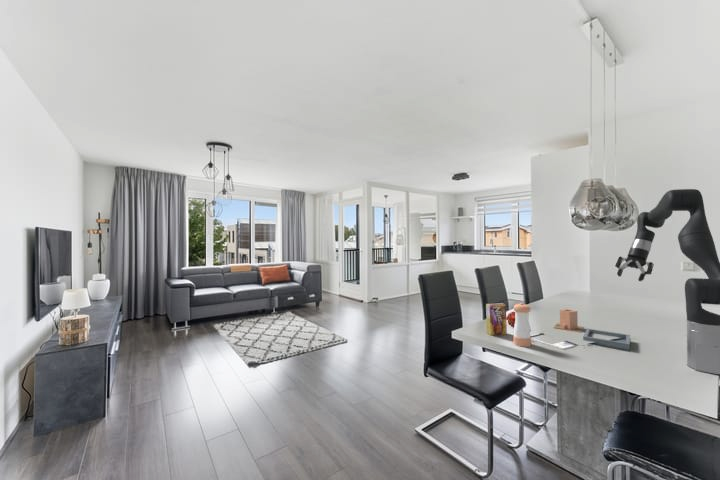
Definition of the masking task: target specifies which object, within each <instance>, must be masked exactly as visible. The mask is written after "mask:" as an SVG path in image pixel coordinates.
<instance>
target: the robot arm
mask: <svg viewBox="0 0 720 480" xmlns="http://www.w3.org/2000/svg"><path fill="white" fill-rule="evenodd" d="M684 211H685V212H688V213H689V215H690V216H689V219H688V221H687V222H686V224H684V226H683V227H682V228H681V230H680V231H679V233H678V235H677V240H678V243H679V244H678V245H679V247H680V251H681V253H682V254H683V255H684V256H685V257H686V258H687V259H689V260H690V261H691V262H692V263H694V264H695V265H697V266H698V267H699V268H701V269H702V271H703V272H704V273H705V275H706V276H707V277H708V278H696V277H695V278H694V277H692V278H688V279H687V280H686V281H685V283H684V297H685V298H684V299H685V311H686V312H685V313H686V363H687V364H686V365H687V367H688V368H689V367H690V368H691V369H693V370H694V371H698V372H704V373H709V374H714V375H720V314H718V313H715V312H712V311H709V310H707V309H706V308H705V309H704V308H703V306H702V304H703V305H716V306H717V305H718V306H720V260H719V259H720V258H719V257H718V256H719V255H718V253H717V248H716V245H715V241H714V238H713V235H712V233H711V229H710V227H709V223H708V219H707V216H706V212H705V204H704V199H703V195H702V193H701V191H700V190H699V189H696V188H683V189H682V188H681V189H669V190H668V191H666V192H665V193H664V194H663V196H662V197H661V199H660V200H659V201H658V203H657V204H656V206H655V207H654V208H653V209H651V210H650V211H642V212H640V213H639V214H638V215H637V218H636V220H637V221H636V222H637V225H636V226H637V229H636V234H635V237H634V240H633V241H632V244H631V246H630V248H629V251H628V254H627V257H623V256H619V257H618V259H617V261H616V263H615V266H614V267H616V268H617V269H618V270H617V273H616V274H617V276H618V277H621V276H622V274H623V271H624V270H625V269H627V268H633V269H636V270H638V269H639V271H640V274H639V277H638V281H639V282H642V281H644V280H645V276H646V275H652V272H653V268H654V264H655V263H653V262H652V261H649V262H648V261H647V260H648V257H649V254H650V252H651V249H652V244H653V241H654V239H655V237H656V234H655V231H652V230H650V229H649V228H653V229H659V228H662V227H663V226H664V225H665V222H666V220H667V219H669V218H670V217H672V215H673V213H674V212H684ZM647 227H649V228H647ZM624 261H625V263H624ZM644 266H647V270H645V269H644Z"/></svg>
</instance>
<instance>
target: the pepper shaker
mask: <svg viewBox="0 0 720 480" xmlns="http://www.w3.org/2000/svg"><path fill="white" fill-rule="evenodd" d="M512 309H513V312H515V326H513V333H514V334H513V344H514V345H515V346H519V347H522V348H523V347H526V348H527V347H531V346H532V339H531V338H532V336H530V335H531V325H530V321H529V320H530V317H529V316H530V315H529V313H530V312H531V307H530V306H529V305H528V304H525V303H524V302H520V303H517V304H514V306H513V307H512Z"/></svg>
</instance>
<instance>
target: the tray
mask: <svg viewBox="0 0 720 480" xmlns="http://www.w3.org/2000/svg"><path fill="white" fill-rule="evenodd" d="M590 334H594V335H595V334H597V335H602V336H610V337H616V338H612V339H605V338H598V337H593V336H592V337H591V336H589V335H590ZM630 336H631V335H630V334H627V333H626V334H625V333H620V332H619V333H618V332H612V331H605V330H599V329H592V328H586V330H585V332H584V334H583V336H582V337H583V339H582V340H583V341H588V342H589V343H588V342H587V345H592V346H593V345H594V346H597V347H598V346H599V347H603V348H609V349H610V348H611V349H614V350H615V349H616V350H621V351H626V352H630V346H631V337H630Z"/></svg>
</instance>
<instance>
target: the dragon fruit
mask: <svg viewBox="0 0 720 480" xmlns="http://www.w3.org/2000/svg"><path fill="white" fill-rule="evenodd" d="M506 321H507V325H509V326H513V327H514V326H515V311H511V312H509V313H508V314H507V315H506Z"/></svg>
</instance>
